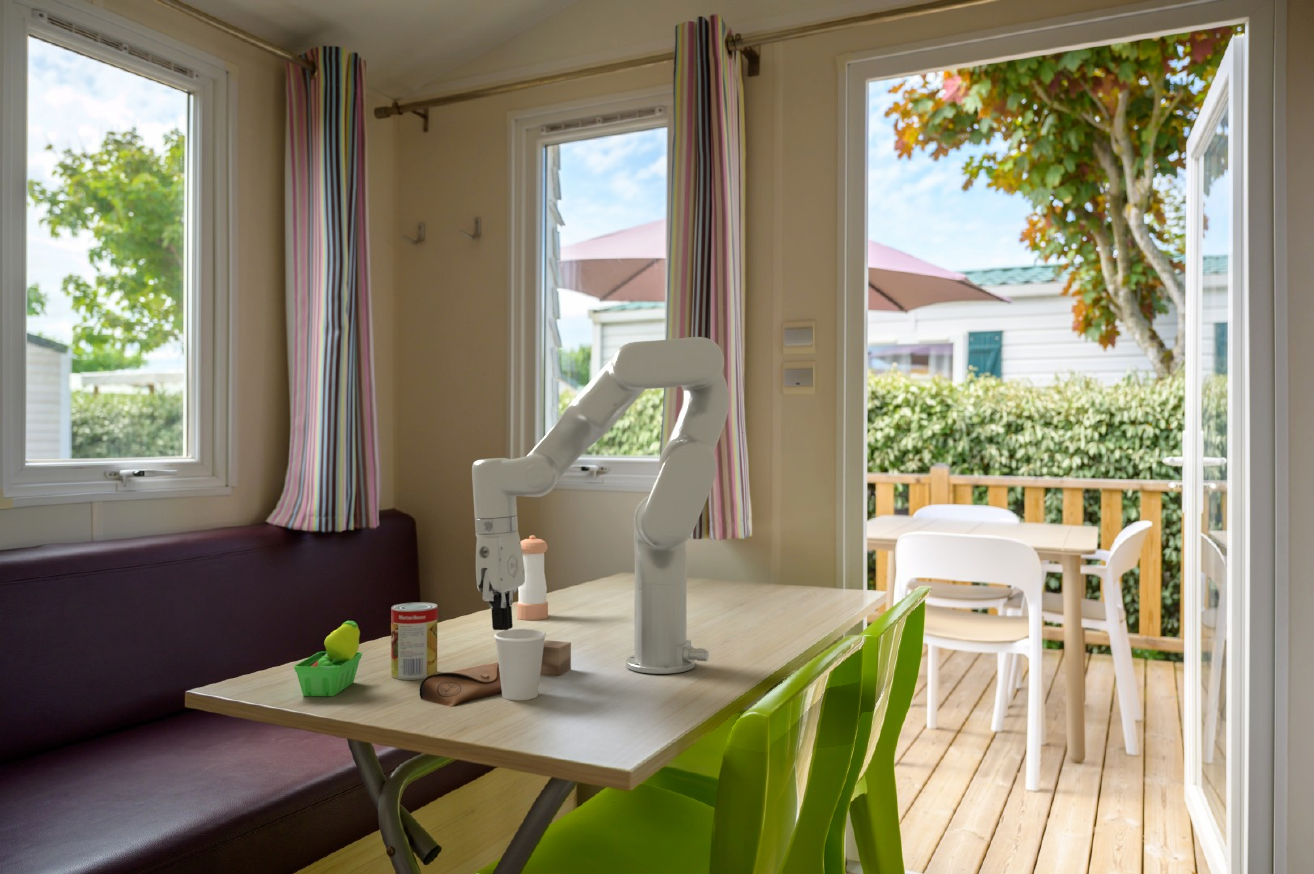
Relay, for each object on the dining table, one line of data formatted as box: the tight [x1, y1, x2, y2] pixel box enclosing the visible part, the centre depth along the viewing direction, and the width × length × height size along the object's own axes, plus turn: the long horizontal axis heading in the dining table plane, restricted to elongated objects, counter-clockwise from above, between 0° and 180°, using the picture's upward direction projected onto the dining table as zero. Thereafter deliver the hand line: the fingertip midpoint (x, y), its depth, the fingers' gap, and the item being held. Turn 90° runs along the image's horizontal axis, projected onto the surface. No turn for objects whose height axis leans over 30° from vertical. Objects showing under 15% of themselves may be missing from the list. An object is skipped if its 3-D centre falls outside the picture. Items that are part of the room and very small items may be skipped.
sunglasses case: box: [419, 661, 502, 708], centre depth 152 cm, size 18×7×7 cm
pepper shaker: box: [516, 535, 549, 621], centre depth 217 cm, size 7×7×19 cm
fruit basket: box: [293, 620, 363, 697], centre depth 153 cm, size 11×9×11 cm
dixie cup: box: [493, 628, 547, 701], centre depth 149 cm, size 8×8×10 cm
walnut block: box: [540, 639, 572, 677], centre depth 165 cm, size 5×5×5 cm
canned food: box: [390, 602, 438, 681], centre depth 163 cm, size 8×8×12 cm
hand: (502, 628), depth 166 cm, fingers closed
